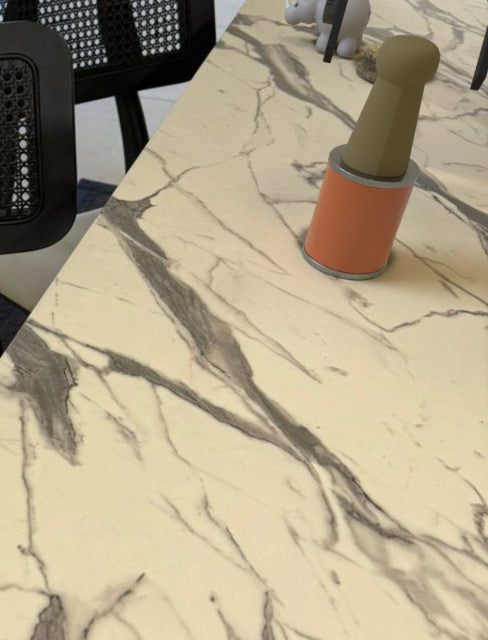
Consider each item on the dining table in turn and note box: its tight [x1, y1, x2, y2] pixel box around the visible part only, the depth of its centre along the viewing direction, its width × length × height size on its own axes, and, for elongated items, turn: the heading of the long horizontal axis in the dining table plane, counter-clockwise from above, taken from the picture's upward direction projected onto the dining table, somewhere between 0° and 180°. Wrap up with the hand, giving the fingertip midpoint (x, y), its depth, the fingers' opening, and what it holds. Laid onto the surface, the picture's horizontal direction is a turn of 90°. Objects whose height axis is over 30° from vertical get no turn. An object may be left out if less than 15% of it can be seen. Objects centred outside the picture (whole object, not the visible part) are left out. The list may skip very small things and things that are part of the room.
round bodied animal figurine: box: [284, 0, 372, 58], centre depth 144 cm, size 7×12×8 cm, turn 62°
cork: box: [342, 34, 441, 177], centre depth 91 cm, size 6×6×11 cm
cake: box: [355, 41, 385, 83], centre depth 138 cm, size 10×10×5 cm
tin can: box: [301, 143, 421, 281], centre depth 98 cm, size 8×8×10 cm
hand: (401, 69), depth 95 cm, fingers open, 13 cm apart
